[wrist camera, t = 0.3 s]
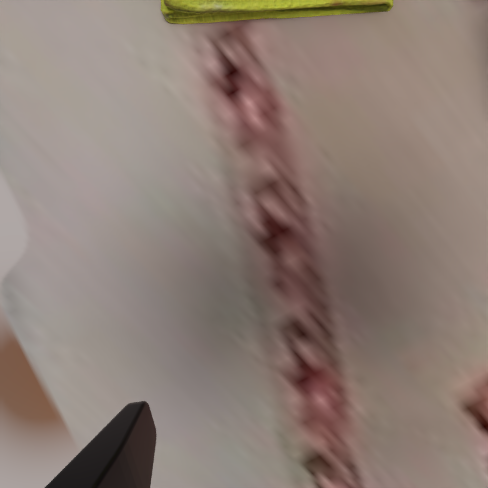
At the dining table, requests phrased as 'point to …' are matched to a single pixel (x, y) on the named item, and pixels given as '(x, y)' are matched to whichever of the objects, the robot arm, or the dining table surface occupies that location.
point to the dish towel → (263, 9)
